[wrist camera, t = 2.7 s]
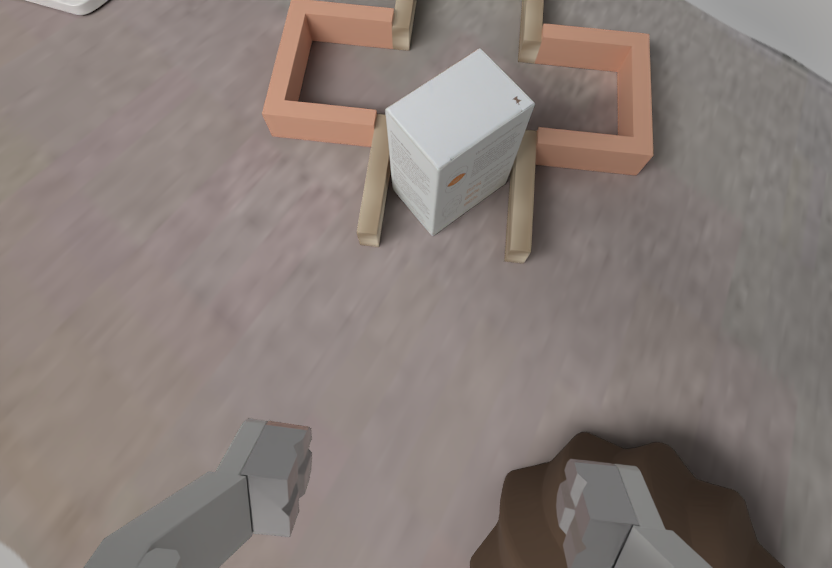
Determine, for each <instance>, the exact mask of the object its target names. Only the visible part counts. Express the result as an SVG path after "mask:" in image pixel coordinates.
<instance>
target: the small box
mask: <svg viewBox="0 0 832 568" xmlns="http://www.w3.org/2000/svg"><path fill="white" fill-rule="evenodd" d="M534 106H535V103H534V102H533V101H532V100H531V99H530V98H529V97H528V96H527V95H526V94H525V93H524V92H523V91H522V90H521V89H520V88H519V87H518V86H517V85H516V84H515V83H514V82H513V81H512V80H511V79H510V78H509V77H508V76H507V75H506V74H505V73H504V72H503V71H502V70H501V69H500V68H499V67H498V66H497V65H496V64H495V63H494V62H493V60H492V59H490V58H489V57H488V56H487V55H486V54H485V53H484V52H483V51H482V50H481V49H480V48H478V49H477V50H475V51H474V52H472V53H471V54H469V55H468V56H466V57H465V58H463V59H462V60H460V61H458V62H457V63H455V64H454V65H452V66H451V67H449V68H448V69H446V70H445V71H443V72H442V73H440V74H439V75H437V76H436V77H434V78H432V79H431V80H429V81H428V82H426V83H425V84H423V85H422V86H420V87H419V88H417V89H415V90H414V91H412V92H411V93H409V94H408V95H406V96H405V97H403V98H402V99H400V100H398V101H397V102H395V103H394V104H392V105H391V106H389V107H387V108H386V110H385V112H386V123H387V133H388V144H389V156H390V166H391V177H392V187H393V190H394V191H395V192H396V194H397V195H398V196H399V197H400V198H401V200H402V201H403V202H404V203H405V204H406V206H407V207H408V208H409V209H410V210H411V212H412V213H413V214H414V215H415V216H416V218H417V219H418V220H419V221H420V222H421V224H422V225H423V226H424V227H425V228H426V229H427V231H428V232H429V233H430V234H431V235H432V236H434V235H435V234H437V233H438V232H439V231H441V230H442V229H443V228H445V227H446V226H448V225H449V224H450V223H452V222H453V221H454V220H456V219H457V218H458V217H460V216H461V215H463V214H464V213H465V212H467V211H468V210H470V209H471V208H472V207H474V206H475V205H477V204H478V203H479V202H481V201H482V200H483V199H485V198H486V197H487V196H489V195H490V194H492V193H493V192H494V191H496V190H497V189H499V188H500V187H501V186H503V185H504V184H505V183H506V182H507V179H508V176H509V173H510V171H511V168H512V166H513V163H514V160H515V157H516V155H517V152H518V149H519V147H520V144H521V141H522V138H523V136H524V133H525V130H526V127H527V124H528V122H529V119H530V116H531V114H532V111H533V108H534Z"/></svg>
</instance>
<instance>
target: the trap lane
mask: <svg viewBox="0 0 832 568" xmlns="http://www.w3.org/2000/svg"><path fill="white" fill-rule="evenodd" d="M416 2H417V0H396V5H395V10H394V16H393V22H392V43H393V49H398V50H408V51H409V48H410V41H411V35H412V28H413V22H414V15H415V9H416ZM543 3H544V0H522V10H521V25H520V40H519V55H518V62H526V63H535V60H536V57H537V54H538V51H539V48H540V45H541V42H542V23H543ZM536 142H537V131H533V130H525V133H524V136H523V138H522V141H521V144H520V147H519V149H518V152H517V155H516V157H515V160H514V163H513V166H512V168H511V172H510V187H509V202H508V217H507V231H506V246H505V261H506V262H515V263H524V262H525V260H526V259H527V257H528V256H529V254H530V253H531V241H532V221H533V201H534V181H535V162H536ZM390 171H391V166H390V156H389V144H388V133H387V123H386V115H383V114H377V116H376V122H375V128H374V134H373V139H372V145H371V151H370V157H369V163H368V169H367V175H366V181H365V186H364V192H363V198H362V204H361V210H360V216H359V222H358V227H357V235H358V239H359V242H360V245H366V246H375V247H379V243H380V236H381V230H382V223H383V217H384V210H385V204H386V197H387V191H388V184H389V178H390Z"/></svg>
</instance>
